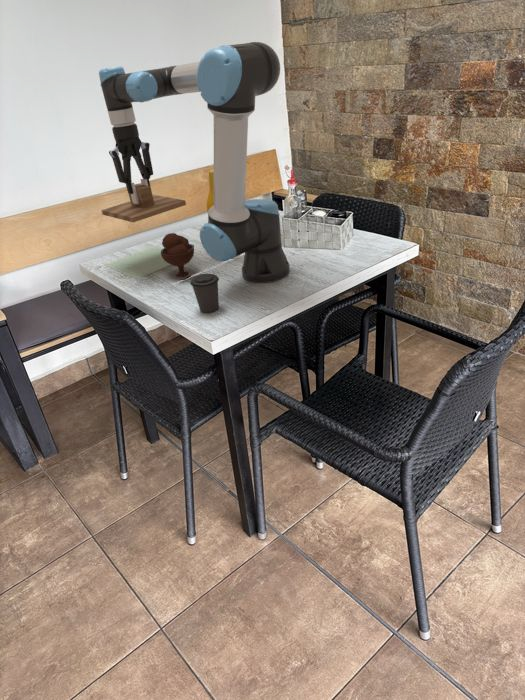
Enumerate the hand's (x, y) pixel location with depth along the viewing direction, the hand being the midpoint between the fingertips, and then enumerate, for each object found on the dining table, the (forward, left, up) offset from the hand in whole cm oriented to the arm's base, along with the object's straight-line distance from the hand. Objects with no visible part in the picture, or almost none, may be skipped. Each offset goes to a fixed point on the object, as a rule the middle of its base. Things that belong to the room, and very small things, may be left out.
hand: (142, 201), depth 172 cm
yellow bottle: (-14, -21, -23) cm, 34 cm away
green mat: (+6, 0, -23) cm, 24 cm away
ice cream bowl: (-16, 0, -23) cm, 28 cm away
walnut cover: (0, 0, -3) cm, 3 cm away
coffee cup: (-43, +10, -23) cm, 50 cm away
